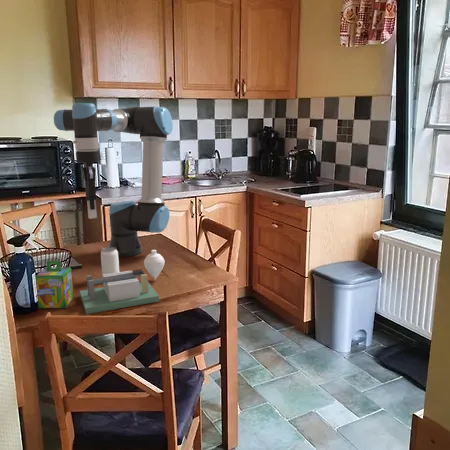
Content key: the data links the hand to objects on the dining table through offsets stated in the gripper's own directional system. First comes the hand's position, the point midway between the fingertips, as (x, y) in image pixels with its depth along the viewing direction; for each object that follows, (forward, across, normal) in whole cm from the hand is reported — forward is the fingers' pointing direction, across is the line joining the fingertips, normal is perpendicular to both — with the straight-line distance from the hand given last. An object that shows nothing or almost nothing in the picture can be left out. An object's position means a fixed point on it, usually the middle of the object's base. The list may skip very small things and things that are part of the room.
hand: (92, 217), depth 165 cm
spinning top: (+27, +1, +21) cm, 34 cm away
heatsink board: (+26, +13, +5) cm, 30 cm away
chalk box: (+27, +8, -15) cm, 32 cm away
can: (+27, -8, +6) cm, 28 cm away
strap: (+19, +13, +5) cm, 24 cm away
